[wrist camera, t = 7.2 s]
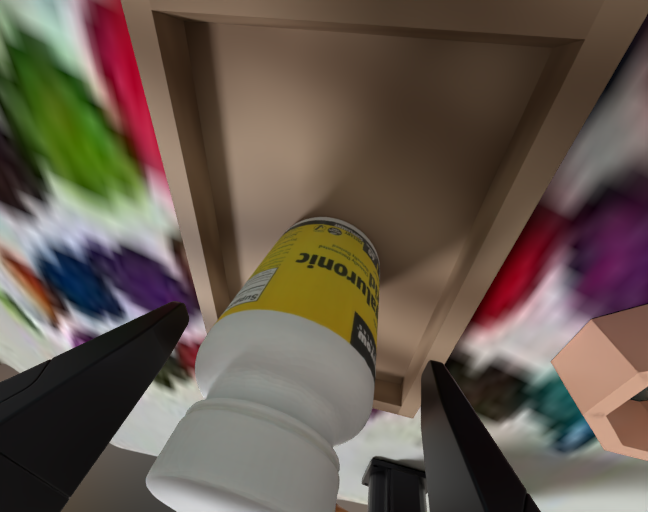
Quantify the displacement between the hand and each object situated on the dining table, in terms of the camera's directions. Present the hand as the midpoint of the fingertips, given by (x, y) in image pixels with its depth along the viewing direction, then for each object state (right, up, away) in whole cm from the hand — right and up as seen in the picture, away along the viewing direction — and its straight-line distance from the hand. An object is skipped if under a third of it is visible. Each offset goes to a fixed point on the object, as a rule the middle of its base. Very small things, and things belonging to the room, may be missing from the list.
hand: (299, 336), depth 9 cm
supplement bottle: (+1, +3, +4) cm, 5 cm away
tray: (+1, +3, +5) cm, 6 cm away
